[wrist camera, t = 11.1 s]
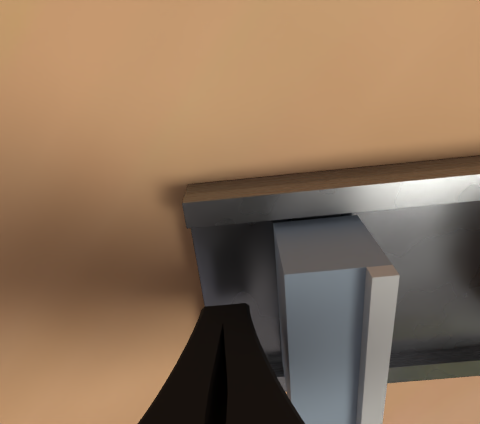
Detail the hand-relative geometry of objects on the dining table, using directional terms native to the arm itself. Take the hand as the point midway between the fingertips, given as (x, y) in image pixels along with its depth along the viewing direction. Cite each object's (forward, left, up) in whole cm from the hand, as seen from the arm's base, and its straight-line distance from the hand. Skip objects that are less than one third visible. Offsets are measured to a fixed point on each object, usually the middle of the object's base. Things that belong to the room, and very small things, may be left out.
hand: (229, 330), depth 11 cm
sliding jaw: (0, -3, -1) cm, 3 cm away
